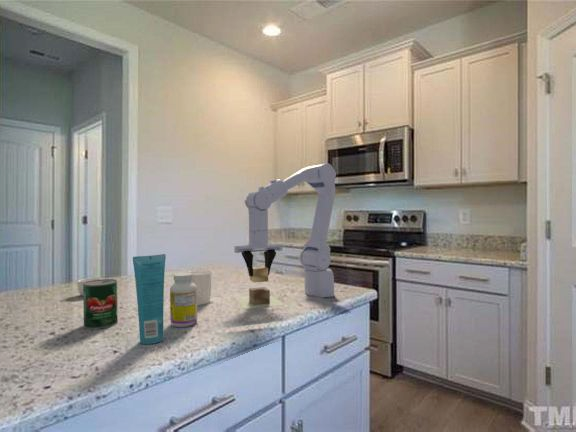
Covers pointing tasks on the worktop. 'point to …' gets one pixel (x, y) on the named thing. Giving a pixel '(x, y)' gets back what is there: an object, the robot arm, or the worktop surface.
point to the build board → (248, 305)
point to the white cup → (202, 285)
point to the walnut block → (259, 295)
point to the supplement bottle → (183, 301)
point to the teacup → (80, 282)
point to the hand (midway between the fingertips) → (259, 275)
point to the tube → (150, 296)
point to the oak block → (259, 274)
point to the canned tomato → (100, 303)
